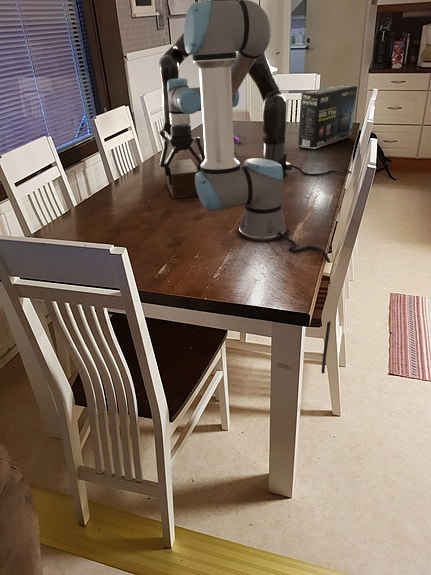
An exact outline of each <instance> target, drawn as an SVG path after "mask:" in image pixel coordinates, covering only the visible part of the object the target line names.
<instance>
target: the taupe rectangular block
mask: <svg viewBox="0 0 431 575" xmlns="http://www.w3.org/2000/svg"><path fill="white" fill-rule="evenodd" d="M169 167H170V173H171V184H172V185H169V181H168V176H166V175H165V179H166V185H167V188H168V190H169V191H170V192H169V193H170V195H171V196H172V199H174V200H175V199H182V198H192V197H193V198H194V197H199V196H198V193H197V189H196V184H195V175H196V173H198V172H199V170H198V169H197V165H196V164H195V163H194V161H193V160H192V159H191V158H188V159H179V160H172V161H171V163H170V165H169Z"/></svg>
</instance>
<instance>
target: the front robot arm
mask: <svg viewBox="0 0 431 575" xmlns="http://www.w3.org/2000/svg"><path fill="white" fill-rule="evenodd" d="M271 27H272V26H271V21H270V19H269V16H268V14H267V13H266V11H265V10H264V9H263V7H262V6H261V5H260V4H258V3H257V2H254V1H252V0H231V1H211V0H204V1H196V2H193V3H191V4H190V5H189V7H188V9H187V11H186V15H185V17H184V24H183V33H184V44H185V50H186V52H187V53H188V54H190V56H192V63H193V64H194V65H195V66H197V68H198V72H199V87H190V85H189V82H188V79H187V78H185V77H184V78H180V77H179V78H176V79H170V80H168V82H167V92H168V101H169V112H170V124H171V139H169V140H165V139H163V141H162V143H163V146H162V151H161V156H160V160H159V167H160V168H164V175H165V177H166V176H168V181H169V185H172V184H171V173H170V167H169V165H170V163H171V161H173V159H174V157H175V155H176V154H177V153H176V152H177V150H179V152H181V151H187V150H189V152H190V153H191V154H192V156H193V157H194V158H195V160H196V161H197V162H198V163H196V167H197V169H198V170H199V172H198V173H196V175H195V184H196V189H197V193H198V196H197V197H198V198H199V201H200V204H201V205H202V207H203V208H204V209H206V210H207V211H222V210H226V209H231V208H238V207H244V211H243V213H242V216H241V220H240V221H239V223H238V232H239V235H240V236H241V237H242V238H244V239H247V240H250V241H254V242H271V241H277V240H279V239H281V238H283V239H284V240H285V241H287V242H288V243H290V244H291V246H290V247H289V249H288V250H289V251H290V252H291V253H300V252H303V251H306V250H313V251H314V250H315V251H319V252H320V253H321V254H322V255H323V258H324V259H325V261H326V263H328V264H331V259H330V258H329V255H328V254H327V253H326V251H325V250H324V249H323V248H321V247H319V246H317V245H305V246H302V247H300V248H296V246H297V243H296V242H295V241H294V240H293V239H291V238H290V237H288V236H286V234H287V223H286V221H285V216H284V214H283V210H282V200H283V183H284V175H283V169H282V166H281V165H280V164H279V163H277V162H275V161H272V160H267V159H263V158H259V157H258V158H257V157H256V158H255V157H253V158H248V159H245V160H244V163H243V165H242V166H241V162H240V161H239V160H238V159H237V158H236V156H234V148H235V139H234V135H235V133H234V113H233V110H234V109H233V108H236V107H237V105H239V100H240V90H239V89H240V88H241V85H242V84H243V82H244V80H245V79H246V77H247V75H249V74H248V72H249V70H250V69H251V67H252V65H253V63H254V62H255V60H256V59H257V58H259V57H261V56H262V55H263V54H264V53H265V52H266V50H267V49H268V47H269V45H270V42H271V37H272V28H271ZM197 112H201V119H202V131H203V132H202V134H203V146H204V149H203V147H202V144H201V138H200V137H199V136H196V137H193V136H192V125H191V120H192V119H191V115H193V114H195V113H197ZM193 142H194V144H196V147H197V150H198V151H199V155H200V154H201V157H202V160H201V158H200V156H199V155H198V154H197V152H195V150H194V149H193V147H192V146H191V145H192V144H193ZM170 143H171V144H172V145H173V148H172V147H171V151H170V153H169V154H168V153H167V152H168V149H169V148H168V147H169V146H170V145H171V144H170ZM172 145H171V146H172ZM204 152H205V154H204ZM167 154H168V157H167V158H166V156H167ZM330 330H331V320H330V321H327V323H326V331H325V337H324V345H323V354H322V362H321V363H322V364H321V374H325V372H326V371H325V370H326V360H327V352H328V346H329V338H330V332H331V331H330Z"/></svg>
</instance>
